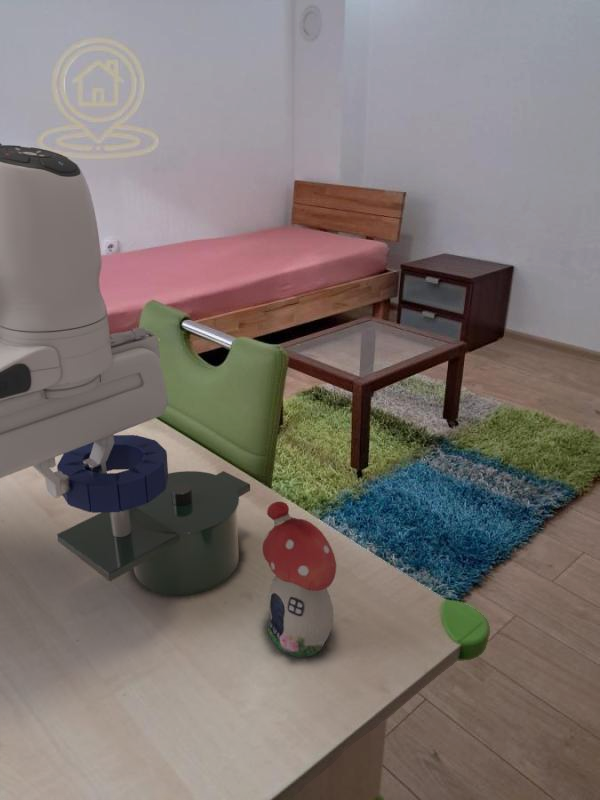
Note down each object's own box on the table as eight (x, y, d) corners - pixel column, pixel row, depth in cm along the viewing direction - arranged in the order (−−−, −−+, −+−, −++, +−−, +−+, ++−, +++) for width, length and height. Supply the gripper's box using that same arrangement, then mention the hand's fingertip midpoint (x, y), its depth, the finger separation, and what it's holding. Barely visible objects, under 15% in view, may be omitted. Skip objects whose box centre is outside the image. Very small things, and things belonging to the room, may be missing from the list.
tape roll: (49, 514, 59) (45, 486, 58) (76, 460, 68) (73, 435, 67) (160, 511, 60) (158, 484, 58) (172, 458, 69) (170, 434, 68)
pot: (205, 509, 90) (199, 424, 84) (275, 548, 82) (274, 458, 76) (59, 590, 74) (41, 493, 69) (128, 649, 66) (114, 544, 61)
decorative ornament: (255, 611, 71) (252, 498, 65) (308, 595, 74) (310, 485, 68) (286, 672, 64) (287, 550, 57) (344, 652, 66) (351, 533, 60)
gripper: (136, 316, 64) (147, 437, 70) (-81, 369, 50) (-45, 516, 55) (176, 330, 60) (184, 457, 66) (-47, 392, 46) (-12, 547, 52)
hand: (77, 485), depth 60 cm, fingers closed on tape roll, 2 cm apart
